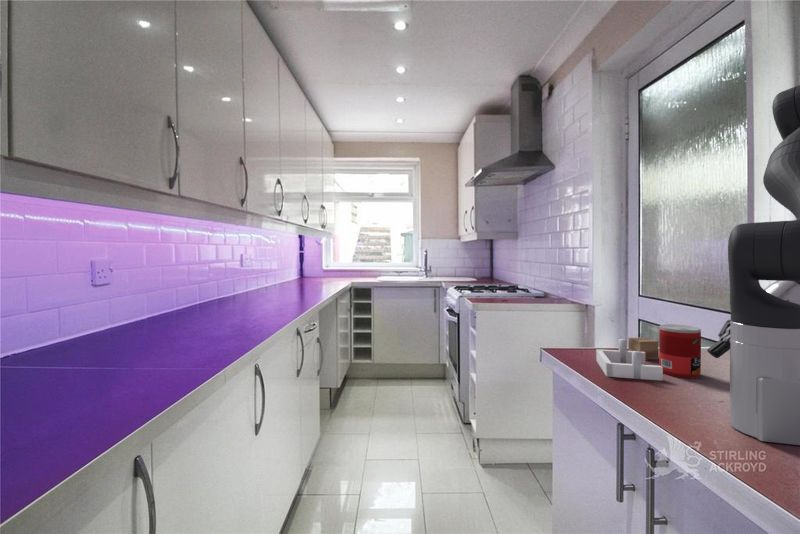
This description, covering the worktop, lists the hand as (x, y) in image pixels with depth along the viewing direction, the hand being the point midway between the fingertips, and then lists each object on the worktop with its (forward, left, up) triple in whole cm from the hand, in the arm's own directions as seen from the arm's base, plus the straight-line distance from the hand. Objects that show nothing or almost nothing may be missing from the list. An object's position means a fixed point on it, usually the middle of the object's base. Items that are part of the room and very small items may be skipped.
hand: (711, 354), depth 89 cm
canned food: (0, +6, -5) cm, 8 cm away
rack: (0, +17, -5) cm, 17 cm away
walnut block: (+14, +10, -5) cm, 18 cm away
